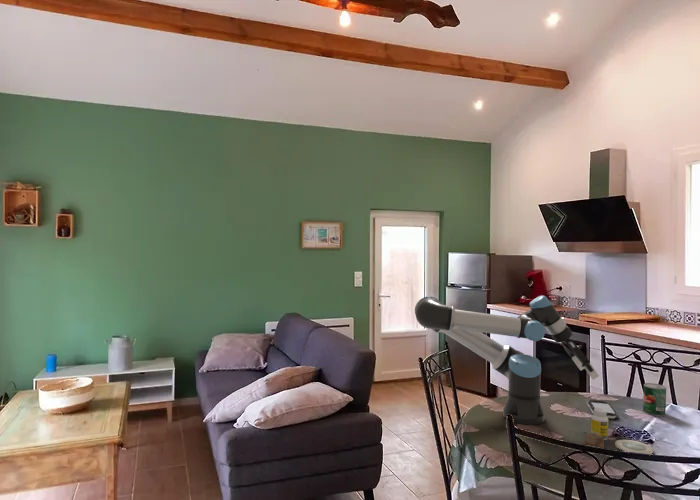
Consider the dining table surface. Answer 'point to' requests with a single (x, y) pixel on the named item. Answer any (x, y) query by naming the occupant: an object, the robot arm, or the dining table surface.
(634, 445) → the saucer
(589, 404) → the gaming console
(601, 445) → the walnut block
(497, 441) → the dining table surface
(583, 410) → the dining table surface
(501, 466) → the dining table surface
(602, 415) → the supplement bottle
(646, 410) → the canned tomato
